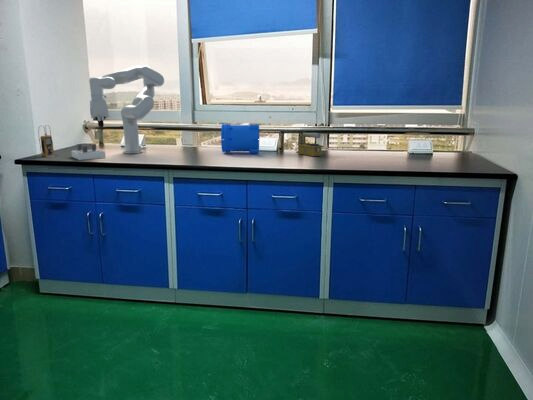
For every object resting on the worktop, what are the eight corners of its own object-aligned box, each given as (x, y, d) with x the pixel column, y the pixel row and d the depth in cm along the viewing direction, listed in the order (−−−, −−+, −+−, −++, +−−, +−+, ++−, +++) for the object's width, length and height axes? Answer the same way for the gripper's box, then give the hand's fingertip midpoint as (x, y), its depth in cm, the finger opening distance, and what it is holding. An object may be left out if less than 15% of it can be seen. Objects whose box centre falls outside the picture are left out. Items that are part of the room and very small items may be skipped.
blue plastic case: (221, 154, 299) (220, 125, 294) (224, 150, 320) (224, 122, 315) (258, 154, 298) (258, 125, 294) (259, 150, 319) (259, 123, 315)
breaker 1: (81, 149, 286) (80, 143, 285) (82, 149, 284) (81, 144, 284) (77, 149, 285) (76, 144, 284) (78, 150, 283) (77, 144, 282)
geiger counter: (313, 156, 289) (313, 133, 285) (289, 152, 309) (289, 130, 306) (323, 155, 294) (324, 133, 290) (299, 151, 314) (300, 130, 311)
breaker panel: (97, 154, 294) (96, 148, 293) (105, 157, 282) (104, 151, 281) (72, 156, 285) (71, 150, 284) (79, 159, 272) (78, 153, 271)
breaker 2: (86, 151, 277) (85, 145, 276) (87, 151, 275) (87, 146, 274) (82, 151, 276) (81, 145, 275) (83, 152, 274) (83, 146, 273)
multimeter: (52, 158, 279) (49, 126, 274) (38, 157, 281) (34, 125, 276) (67, 155, 293) (64, 124, 288) (53, 154, 295) (50, 124, 290)
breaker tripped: (95, 149, 286) (94, 143, 285) (96, 149, 284) (95, 143, 283) (91, 149, 284) (90, 143, 283) (92, 150, 283) (91, 144, 282)
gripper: (107, 97, 287) (111, 125, 292) (83, 98, 278) (87, 127, 283) (111, 97, 281) (114, 126, 286) (87, 98, 272) (90, 128, 277)
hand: (101, 127), depth 284 cm, fingers closed
